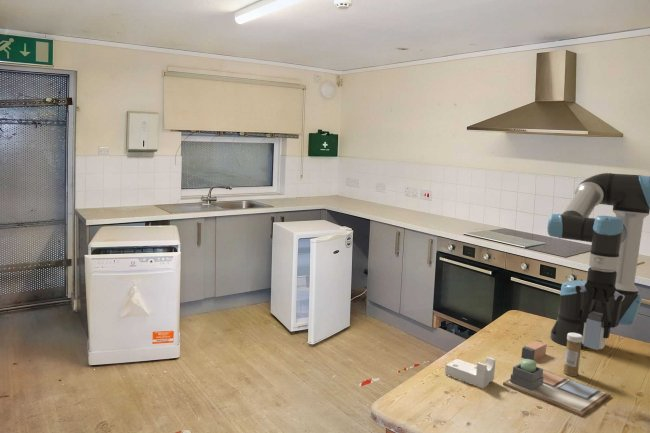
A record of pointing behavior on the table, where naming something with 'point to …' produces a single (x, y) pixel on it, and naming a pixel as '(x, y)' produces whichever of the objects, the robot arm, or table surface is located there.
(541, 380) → the button housing
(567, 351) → the sprinkles bottle
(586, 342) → the grey square prism
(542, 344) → the terracotta marker
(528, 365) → the button
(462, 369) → the bracket
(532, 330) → the table surface
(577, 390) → the wood rimmed sorting board
